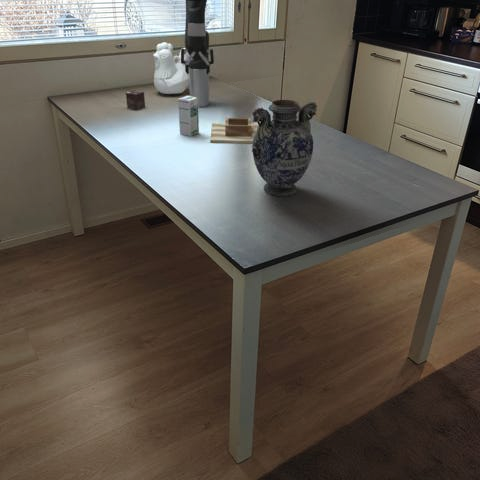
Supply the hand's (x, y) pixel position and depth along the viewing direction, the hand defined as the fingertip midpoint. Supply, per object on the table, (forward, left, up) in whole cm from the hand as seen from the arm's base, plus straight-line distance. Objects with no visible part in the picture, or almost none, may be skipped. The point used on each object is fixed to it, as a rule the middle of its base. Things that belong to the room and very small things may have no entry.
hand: (197, 73), depth 232 cm
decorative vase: (+83, +31, -18) cm, 90 cm away
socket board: (+29, +18, -17) cm, 38 cm away
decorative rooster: (-34, -12, -18) cm, 41 cm away
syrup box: (+29, -2, -18) cm, 34 cm away
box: (-6, -29, -18) cm, 35 cm away
